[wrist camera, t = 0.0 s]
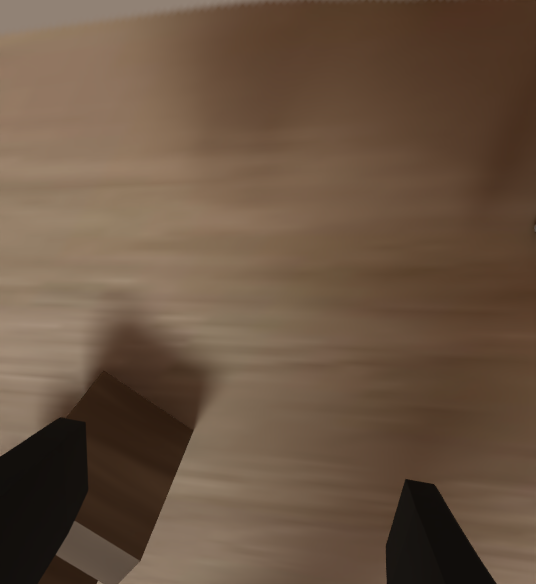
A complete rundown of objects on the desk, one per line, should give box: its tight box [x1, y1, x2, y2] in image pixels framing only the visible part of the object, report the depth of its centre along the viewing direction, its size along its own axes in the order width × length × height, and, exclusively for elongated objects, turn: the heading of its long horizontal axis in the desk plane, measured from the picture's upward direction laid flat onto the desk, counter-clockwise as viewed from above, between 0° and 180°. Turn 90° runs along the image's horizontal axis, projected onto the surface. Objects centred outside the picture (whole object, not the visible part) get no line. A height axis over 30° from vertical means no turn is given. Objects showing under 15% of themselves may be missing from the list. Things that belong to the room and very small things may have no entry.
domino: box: [56, 371, 193, 584], centre depth 21 cm, size 2×5×7 cm, turn 53°
